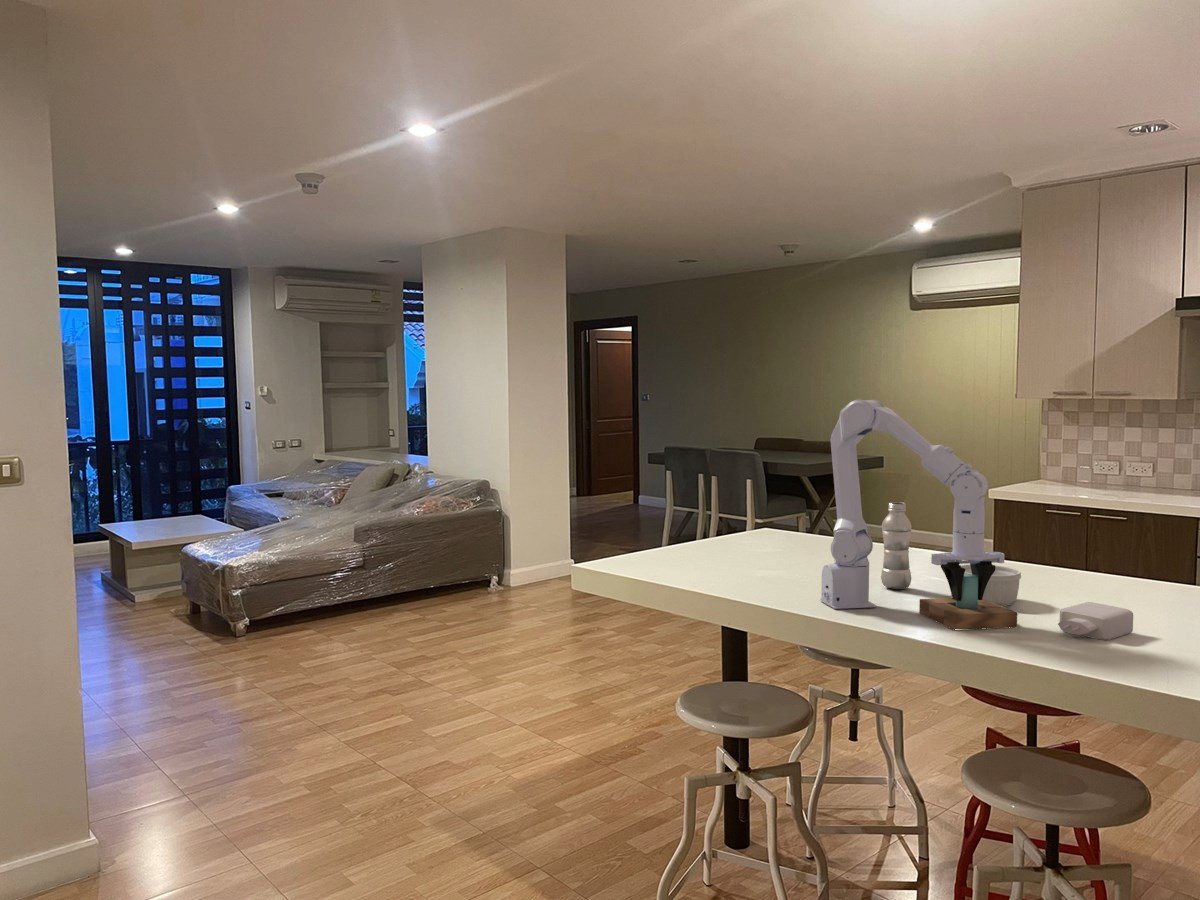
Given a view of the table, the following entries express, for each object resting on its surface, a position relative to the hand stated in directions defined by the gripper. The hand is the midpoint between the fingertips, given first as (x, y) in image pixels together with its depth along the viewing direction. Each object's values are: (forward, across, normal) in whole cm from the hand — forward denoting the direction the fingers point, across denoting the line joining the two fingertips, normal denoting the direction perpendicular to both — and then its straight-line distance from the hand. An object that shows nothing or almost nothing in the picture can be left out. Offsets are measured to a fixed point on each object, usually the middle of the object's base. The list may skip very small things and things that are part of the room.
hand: (967, 599), depth 170 cm
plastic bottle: (+4, 0, +29) cm, 29 cm away
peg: (+3, 0, 0) cm, 3 cm away
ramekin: (+4, +14, +15) cm, 21 cm away
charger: (+5, +17, -13) cm, 21 cm away
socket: (+4, 0, 0) cm, 4 cm away
